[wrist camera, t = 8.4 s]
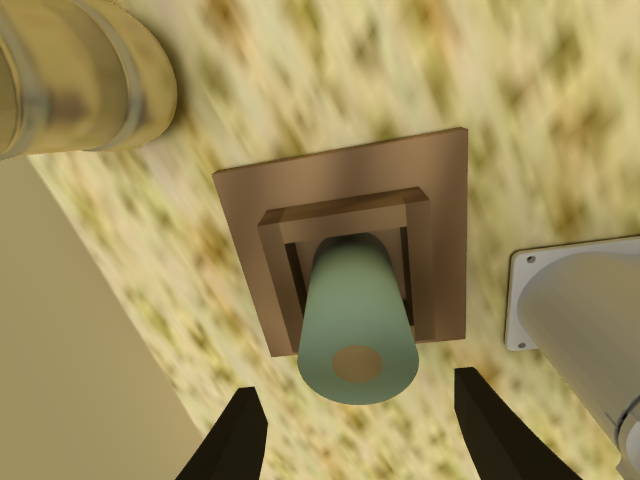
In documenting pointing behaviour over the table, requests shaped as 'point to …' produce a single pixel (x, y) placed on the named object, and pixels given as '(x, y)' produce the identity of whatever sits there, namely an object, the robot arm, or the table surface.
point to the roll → (355, 324)
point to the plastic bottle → (80, 79)
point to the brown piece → (355, 227)
